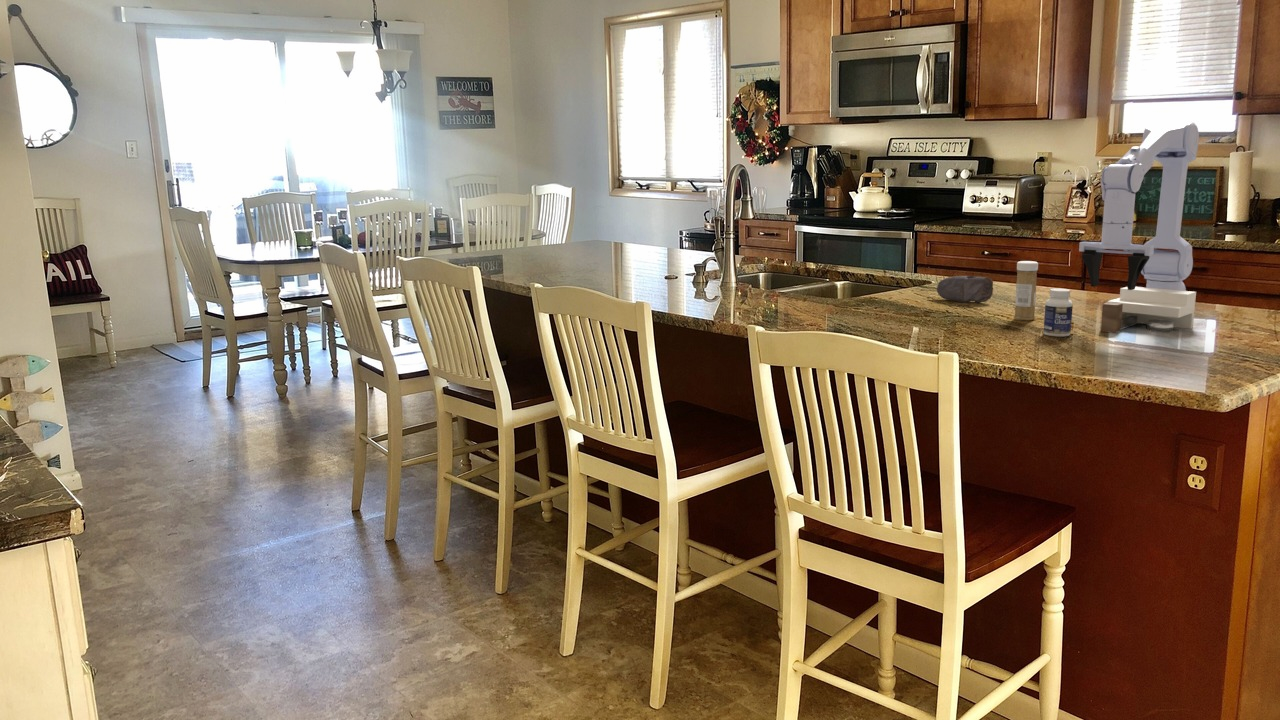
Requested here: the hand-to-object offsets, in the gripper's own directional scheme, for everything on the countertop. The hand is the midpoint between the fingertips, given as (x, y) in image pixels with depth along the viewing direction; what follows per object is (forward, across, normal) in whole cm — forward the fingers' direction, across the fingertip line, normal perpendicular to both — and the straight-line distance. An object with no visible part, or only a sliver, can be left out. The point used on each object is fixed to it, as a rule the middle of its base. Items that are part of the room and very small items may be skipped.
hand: (1112, 287), depth 213 cm
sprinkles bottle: (+10, -22, +6) cm, 25 cm away
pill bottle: (+10, -8, -7) cm, 15 cm away
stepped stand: (+10, +3, +14) cm, 18 cm away
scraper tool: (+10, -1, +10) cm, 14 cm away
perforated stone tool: (+10, -46, +20) cm, 51 cm away
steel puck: (+10, +6, +13) cm, 17 cm away
